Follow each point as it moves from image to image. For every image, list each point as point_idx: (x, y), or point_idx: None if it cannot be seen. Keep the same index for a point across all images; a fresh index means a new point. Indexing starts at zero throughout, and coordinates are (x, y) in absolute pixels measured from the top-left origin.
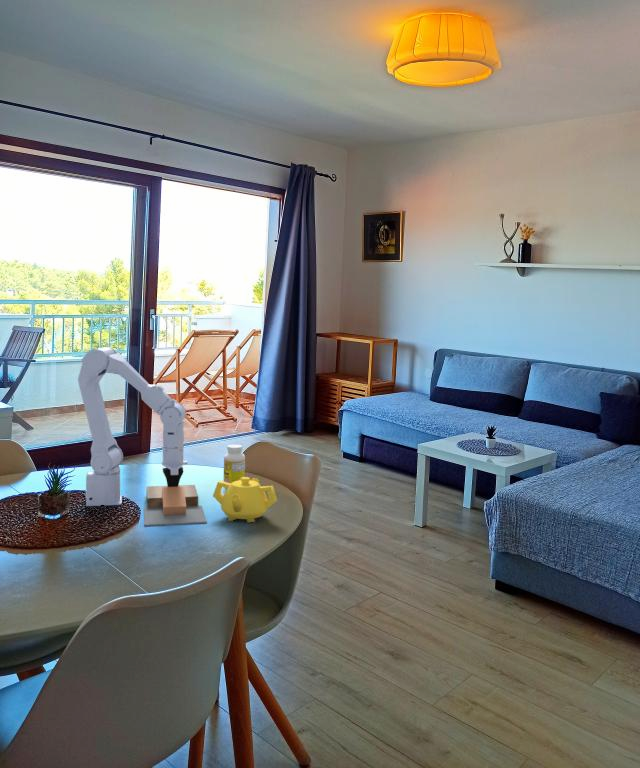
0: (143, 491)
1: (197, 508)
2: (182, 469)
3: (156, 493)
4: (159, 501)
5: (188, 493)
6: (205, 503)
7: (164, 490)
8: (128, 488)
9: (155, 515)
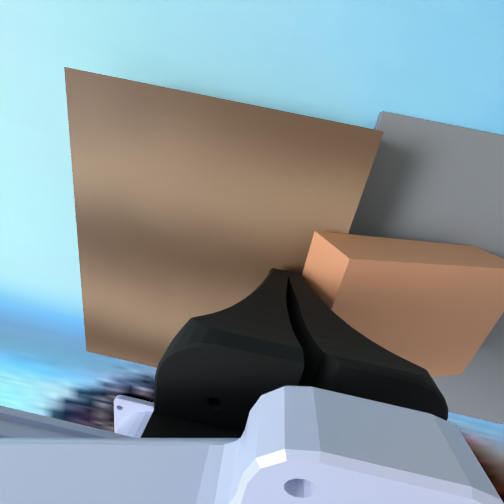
0: (44, 311)
1: (424, 157)
2: (299, 358)
3: None
4: None
5: (281, 182)
6: (316, 62)
7: None
8: (4, 347)
9: None
